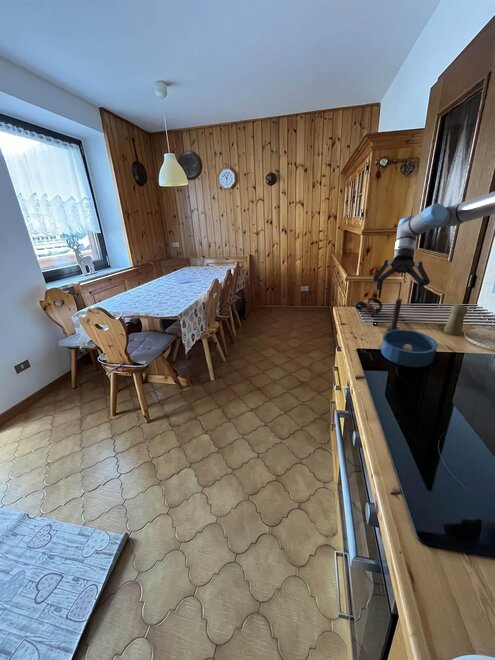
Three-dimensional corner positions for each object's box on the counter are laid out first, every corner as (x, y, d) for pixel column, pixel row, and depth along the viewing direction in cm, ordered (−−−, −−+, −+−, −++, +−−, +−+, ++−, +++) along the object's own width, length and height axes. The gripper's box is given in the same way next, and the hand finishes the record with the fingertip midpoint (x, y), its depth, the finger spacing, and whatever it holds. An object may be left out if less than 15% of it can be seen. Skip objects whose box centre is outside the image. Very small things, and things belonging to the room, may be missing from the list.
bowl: (442, 355, 98) (446, 341, 96) (418, 373, 90) (422, 358, 88) (396, 338, 111) (399, 325, 108) (371, 352, 102) (373, 339, 100)
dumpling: (413, 352, 100) (414, 344, 98) (408, 355, 98) (410, 347, 97) (404, 348, 102) (406, 341, 101) (400, 351, 100) (401, 344, 99)
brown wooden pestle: (400, 334, 113) (408, 299, 106) (394, 338, 111) (401, 302, 104) (390, 330, 116) (396, 296, 109) (384, 334, 114) (390, 299, 107)
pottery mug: (372, 308, 138) (381, 297, 132) (376, 323, 133) (386, 312, 126) (349, 304, 137) (357, 292, 130) (352, 319, 131) (361, 308, 125)
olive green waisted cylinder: (461, 336, 109) (469, 310, 104) (442, 332, 112) (449, 307, 107) (462, 330, 113) (470, 304, 108) (444, 327, 116) (451, 302, 111)
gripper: (437, 258, 116) (432, 305, 111) (371, 255, 126) (364, 299, 120) (442, 247, 109) (437, 297, 104) (372, 246, 119) (364, 291, 114)
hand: (397, 298), depth 112 cm, fingers open, 13 cm apart
